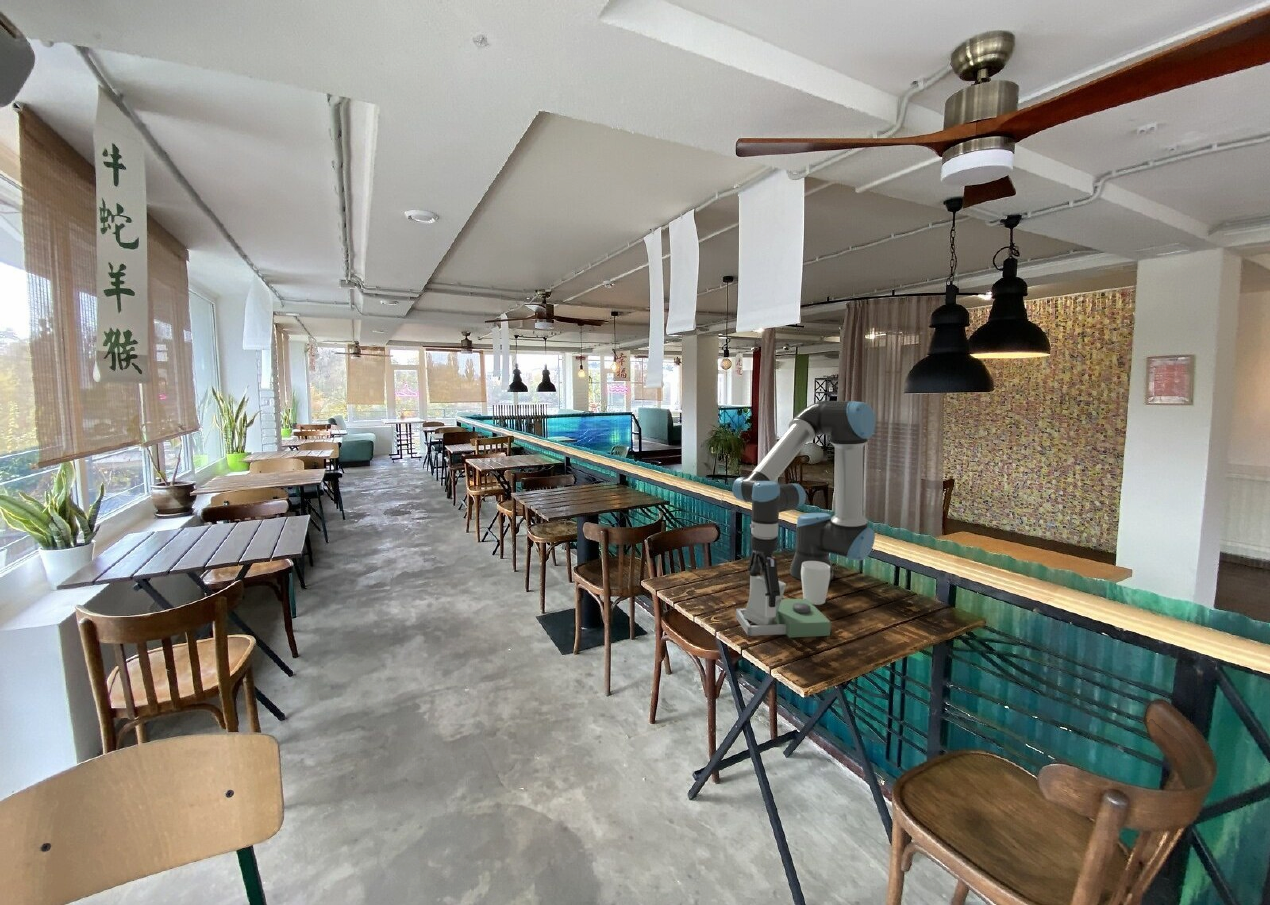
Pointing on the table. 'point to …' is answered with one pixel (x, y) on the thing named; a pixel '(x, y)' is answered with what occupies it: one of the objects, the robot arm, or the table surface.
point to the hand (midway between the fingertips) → (762, 606)
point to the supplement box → (761, 602)
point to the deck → (790, 621)
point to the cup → (815, 581)
